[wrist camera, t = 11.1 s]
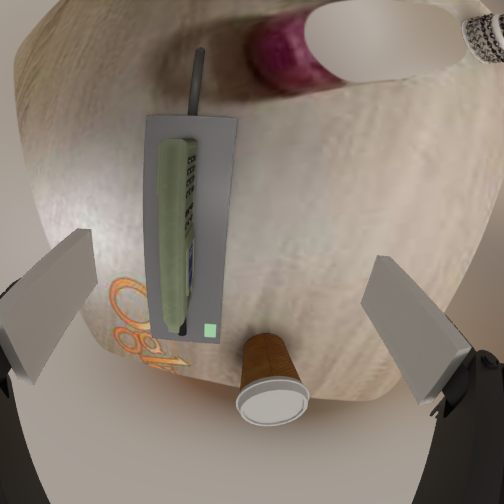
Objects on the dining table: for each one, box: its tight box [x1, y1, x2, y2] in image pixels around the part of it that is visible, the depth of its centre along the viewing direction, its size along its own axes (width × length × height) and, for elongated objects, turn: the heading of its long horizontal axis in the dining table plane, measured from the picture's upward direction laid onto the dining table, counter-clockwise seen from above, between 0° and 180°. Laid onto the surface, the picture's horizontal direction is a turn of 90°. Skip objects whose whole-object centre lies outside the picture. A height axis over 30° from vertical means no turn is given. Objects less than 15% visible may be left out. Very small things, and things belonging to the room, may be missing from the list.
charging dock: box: [143, 47, 238, 344], centre depth 32 cm, size 38×10×2 cm, turn 174°
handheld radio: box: [156, 138, 197, 336], centre depth 30 cm, size 7×3×25 cm
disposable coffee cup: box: [236, 334, 309, 426], centre depth 37 cm, size 10×10×12 cm
